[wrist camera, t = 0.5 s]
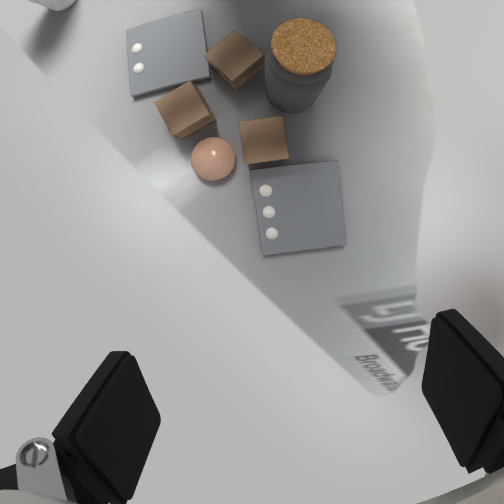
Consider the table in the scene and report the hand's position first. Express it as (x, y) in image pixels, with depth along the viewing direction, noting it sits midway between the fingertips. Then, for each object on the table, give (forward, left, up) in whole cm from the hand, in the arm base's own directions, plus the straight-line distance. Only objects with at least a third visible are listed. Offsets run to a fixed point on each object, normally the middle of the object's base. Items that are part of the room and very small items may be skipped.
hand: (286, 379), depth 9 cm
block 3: (-9, 0, -29) cm, 31 cm away
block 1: (-14, -8, -29) cm, 33 cm away
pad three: (-1, +3, -29) cm, 29 cm away
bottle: (-15, +4, -30) cm, 33 cm away
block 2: (-19, -2, -29) cm, 35 cm away
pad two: (-23, -10, -29) cm, 38 cm away
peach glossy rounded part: (-8, -6, -30) cm, 31 cm away
